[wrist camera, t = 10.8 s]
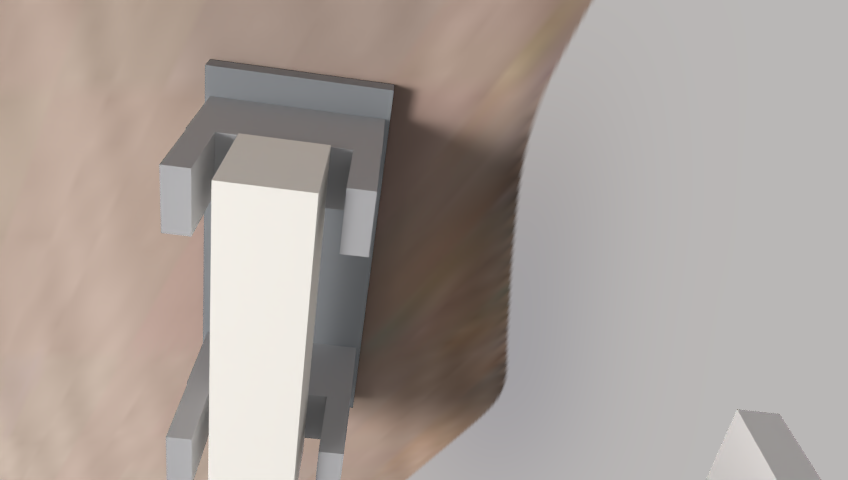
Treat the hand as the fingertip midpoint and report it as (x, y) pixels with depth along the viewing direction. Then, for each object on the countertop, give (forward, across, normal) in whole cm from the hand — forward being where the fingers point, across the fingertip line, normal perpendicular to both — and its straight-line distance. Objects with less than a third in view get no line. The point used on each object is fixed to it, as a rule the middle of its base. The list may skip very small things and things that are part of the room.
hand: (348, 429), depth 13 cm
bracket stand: (+27, -4, -12) cm, 30 cm away
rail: (+21, -4, -12) cm, 25 cm away
